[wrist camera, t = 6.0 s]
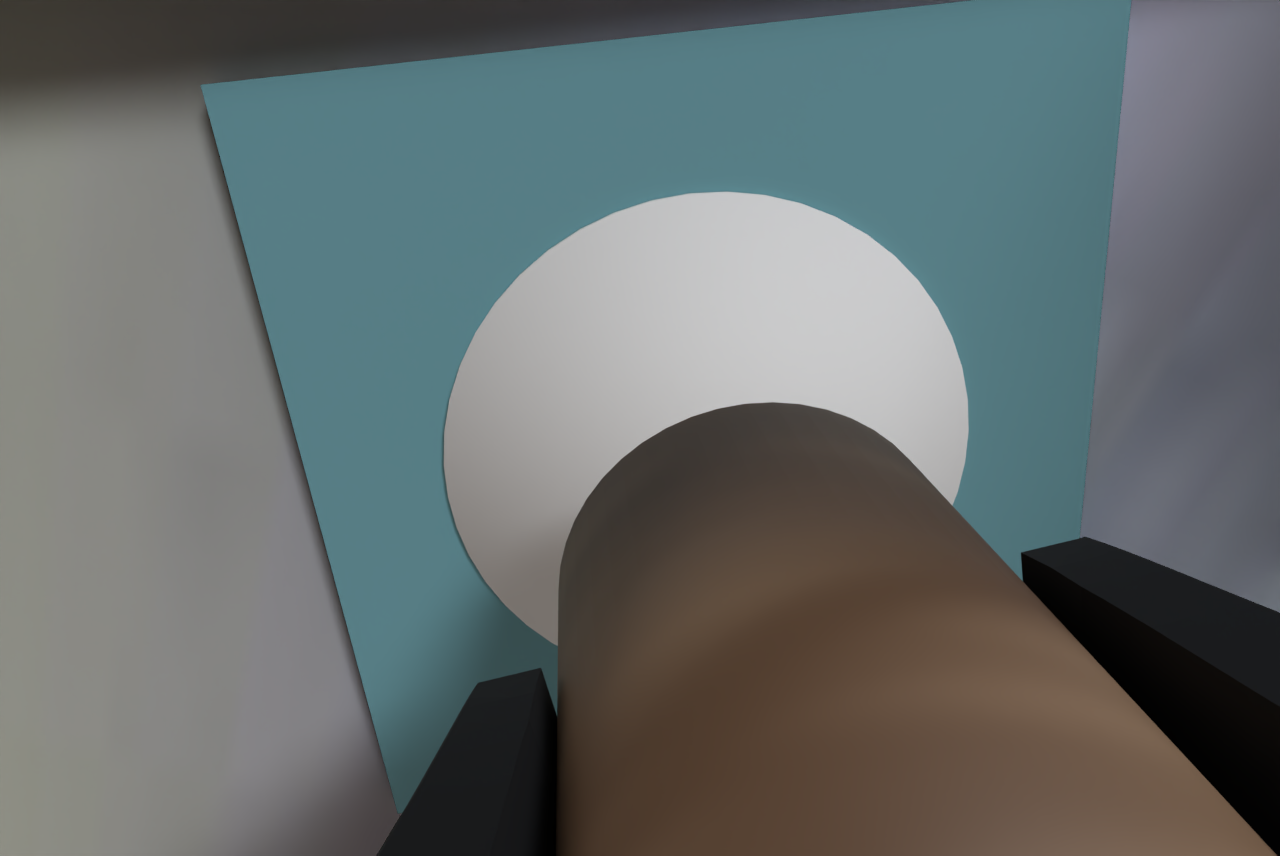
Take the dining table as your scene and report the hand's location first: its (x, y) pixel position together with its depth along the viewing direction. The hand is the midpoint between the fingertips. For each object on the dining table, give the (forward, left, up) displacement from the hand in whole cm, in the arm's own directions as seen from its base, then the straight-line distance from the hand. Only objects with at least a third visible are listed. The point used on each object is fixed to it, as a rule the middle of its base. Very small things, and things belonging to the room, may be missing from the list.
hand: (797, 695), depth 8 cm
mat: (0, 0, -6) cm, 6 cm away
